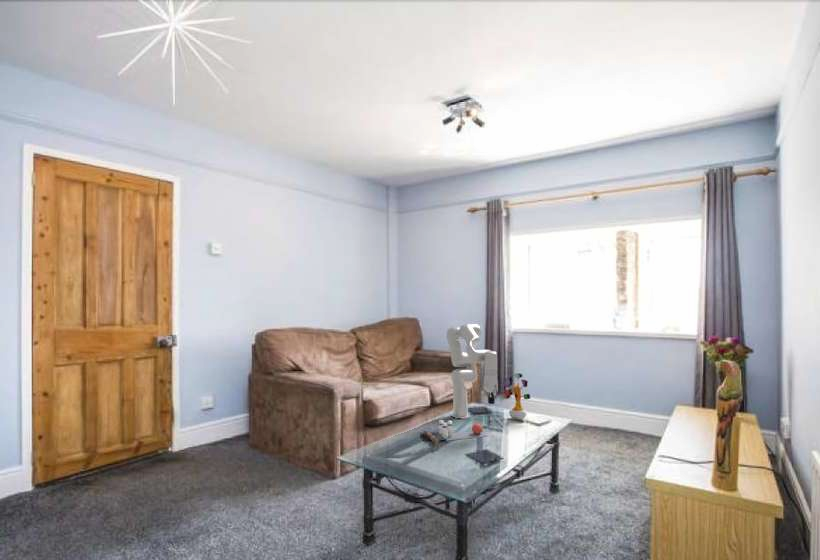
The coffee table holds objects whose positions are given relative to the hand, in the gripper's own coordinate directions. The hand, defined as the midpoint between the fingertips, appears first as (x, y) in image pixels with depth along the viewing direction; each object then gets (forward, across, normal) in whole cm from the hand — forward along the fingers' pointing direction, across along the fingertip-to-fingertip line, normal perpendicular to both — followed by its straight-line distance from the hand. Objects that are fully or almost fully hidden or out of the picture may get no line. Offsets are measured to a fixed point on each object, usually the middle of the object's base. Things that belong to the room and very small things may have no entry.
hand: (491, 403), depth 259 cm
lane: (+17, 0, -20) cm, 27 cm away
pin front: (+17, 0, -26) cm, 32 cm away
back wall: (+17, 0, -38) cm, 42 cm away
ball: (+14, 0, -10) cm, 17 cm away
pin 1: (+17, -2, -31) cm, 35 cm away
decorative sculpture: (+17, -20, +28) cm, 39 cm away
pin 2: (+17, +2, -31) cm, 35 cm away
